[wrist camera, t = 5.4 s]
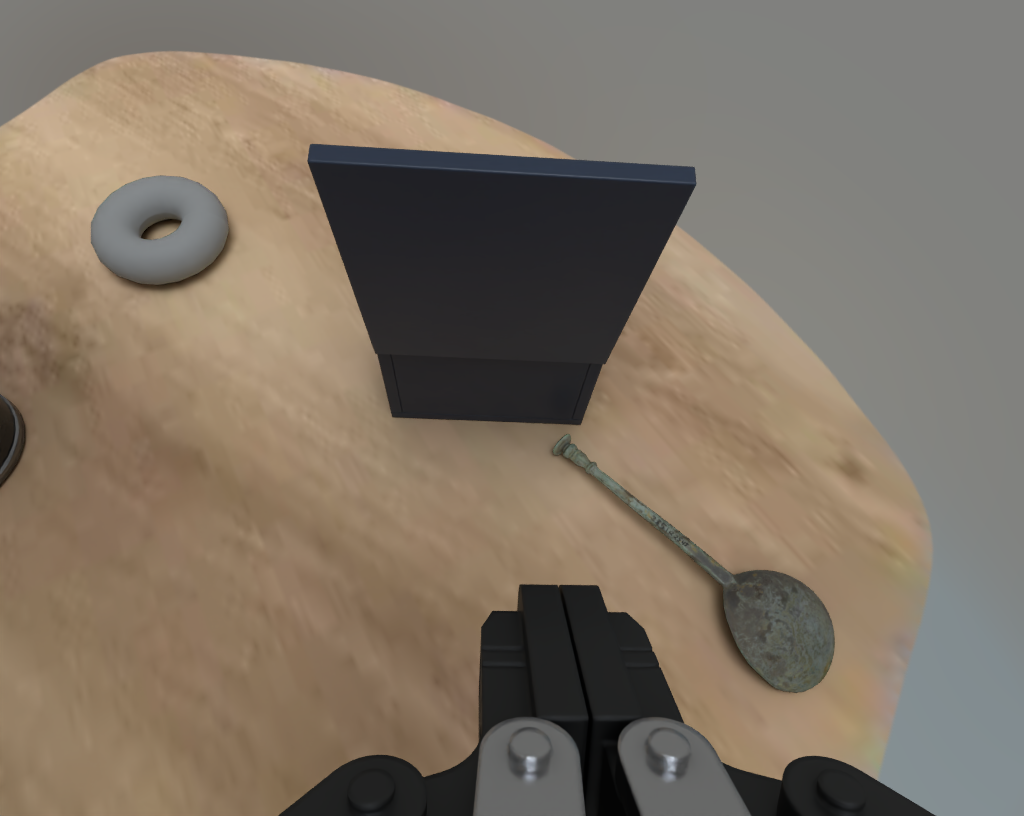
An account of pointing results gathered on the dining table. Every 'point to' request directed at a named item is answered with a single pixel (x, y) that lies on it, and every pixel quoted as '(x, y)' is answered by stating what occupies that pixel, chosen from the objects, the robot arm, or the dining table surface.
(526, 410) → the chest
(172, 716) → the dining table surface
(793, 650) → the soupspoon
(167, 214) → the donut
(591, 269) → the lid
